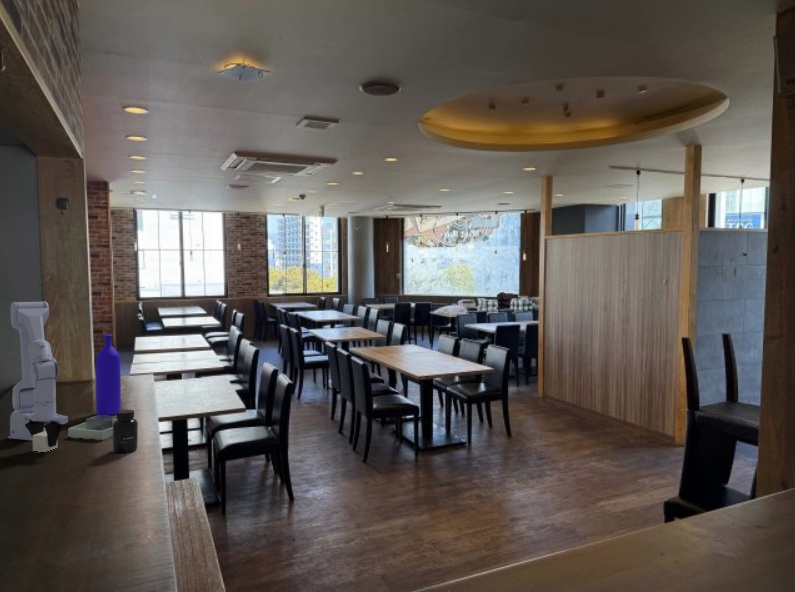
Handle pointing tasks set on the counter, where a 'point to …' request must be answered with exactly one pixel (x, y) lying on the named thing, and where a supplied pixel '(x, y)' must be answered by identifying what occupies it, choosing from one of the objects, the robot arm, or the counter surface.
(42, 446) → the carton
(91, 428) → the grey square block
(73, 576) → the counter surface
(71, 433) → the tray
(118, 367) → the bottle
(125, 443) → the supplement bottle
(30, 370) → the robot arm
